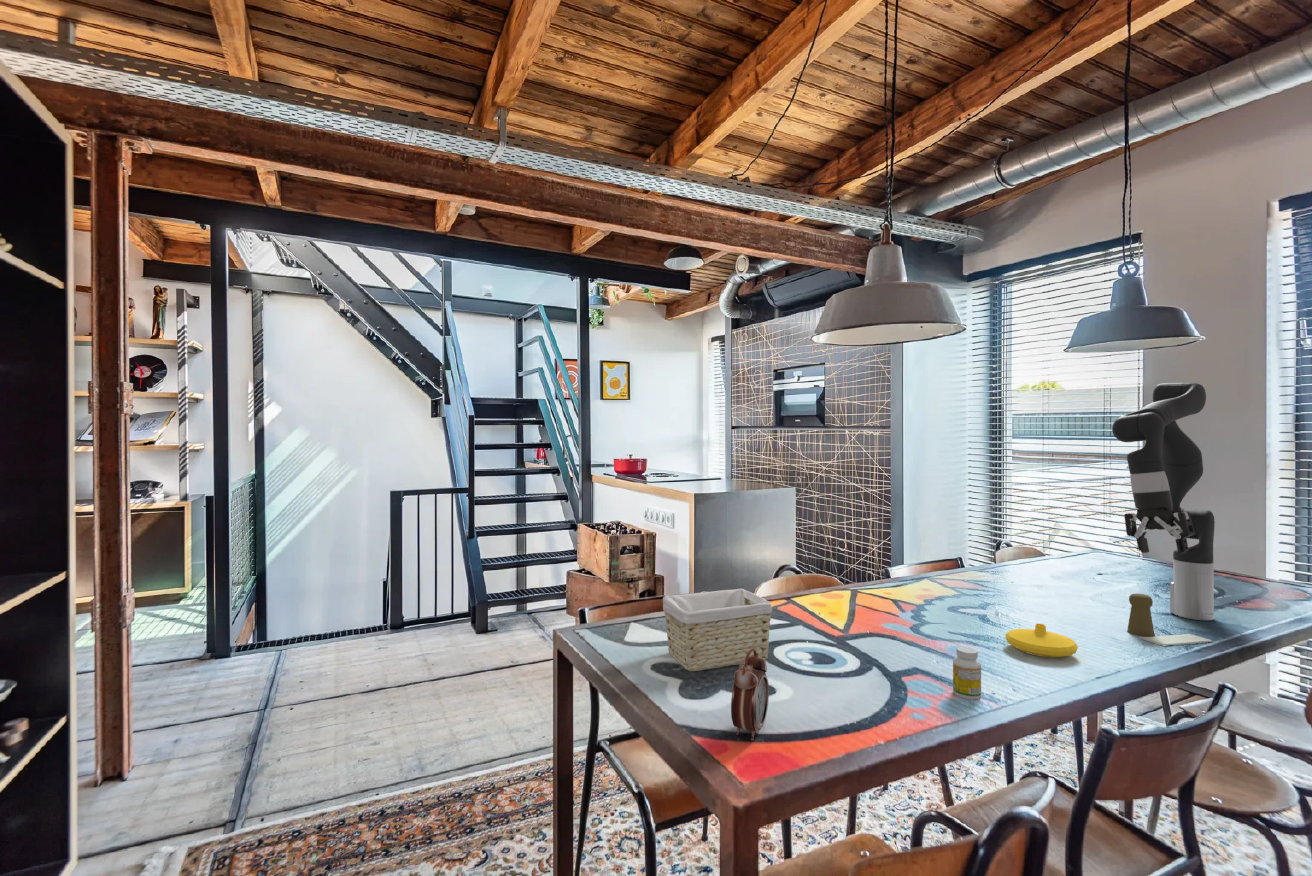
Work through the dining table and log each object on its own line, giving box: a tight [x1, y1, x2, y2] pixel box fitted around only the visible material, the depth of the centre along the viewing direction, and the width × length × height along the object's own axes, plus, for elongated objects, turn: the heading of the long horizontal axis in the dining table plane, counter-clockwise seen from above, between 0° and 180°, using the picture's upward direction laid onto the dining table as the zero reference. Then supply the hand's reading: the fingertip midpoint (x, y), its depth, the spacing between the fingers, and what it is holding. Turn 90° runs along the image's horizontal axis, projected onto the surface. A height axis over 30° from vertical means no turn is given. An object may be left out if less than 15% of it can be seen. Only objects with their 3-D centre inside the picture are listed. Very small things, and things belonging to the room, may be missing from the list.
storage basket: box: [662, 588, 772, 672], centre depth 148 cm, size 24×16×15 cm
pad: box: [1142, 633, 1213, 646], centre depth 160 cm, size 6×16×1 cm, turn 101°
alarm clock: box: [730, 649, 770, 742], centre depth 110 cm, size 11×5×15 cm, turn 155°
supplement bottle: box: [952, 646, 982, 701], centre depth 126 cm, size 5×5×10 cm
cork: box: [1127, 593, 1156, 638], centre depth 167 cm, size 6×6×11 cm
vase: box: [1004, 623, 1079, 658], centre depth 152 cm, size 16×16×7 cm
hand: (1163, 553), depth 151 cm, fingers open, 8 cm apart
